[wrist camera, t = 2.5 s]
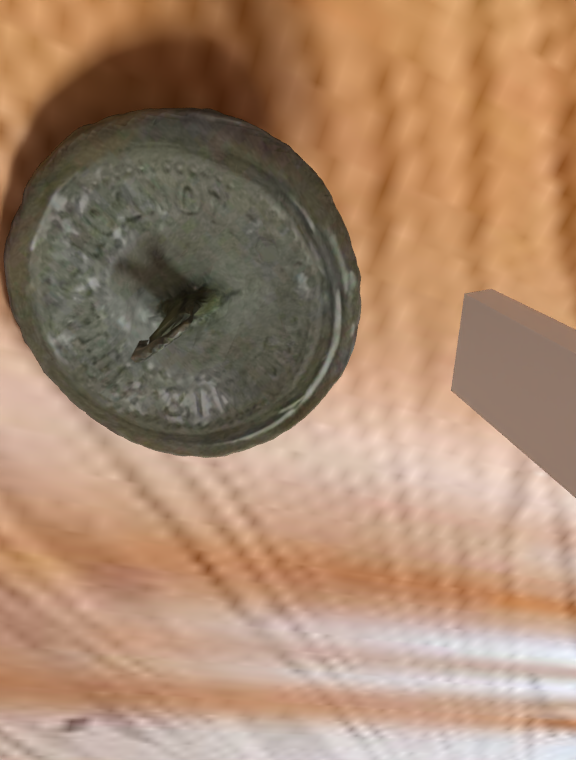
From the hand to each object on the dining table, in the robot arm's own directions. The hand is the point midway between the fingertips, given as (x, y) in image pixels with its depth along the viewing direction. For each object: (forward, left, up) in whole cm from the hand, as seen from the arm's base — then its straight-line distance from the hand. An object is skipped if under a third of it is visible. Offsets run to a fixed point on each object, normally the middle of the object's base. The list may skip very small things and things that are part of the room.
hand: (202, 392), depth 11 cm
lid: (0, 0, -7) cm, 7 cm away
